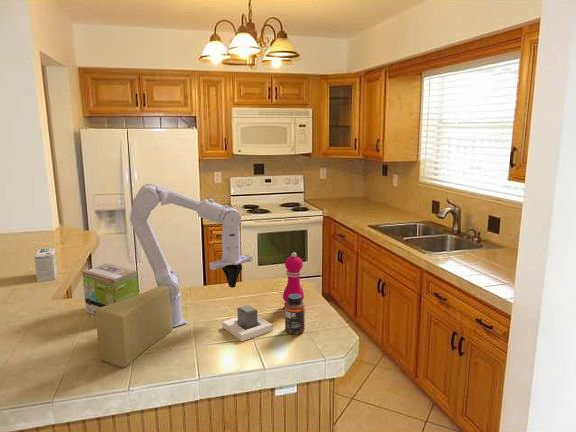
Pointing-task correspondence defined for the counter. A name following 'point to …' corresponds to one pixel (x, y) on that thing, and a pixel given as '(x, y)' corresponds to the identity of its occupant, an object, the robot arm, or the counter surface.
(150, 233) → the robot arm
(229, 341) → the counter surface
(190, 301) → the counter surface
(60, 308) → the counter surface
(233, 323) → the socket plate
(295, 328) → the supplement bottle
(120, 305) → the tan rectangular block
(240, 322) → the plug
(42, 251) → the light bulb box
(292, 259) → the pepper mill
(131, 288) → the tea box
